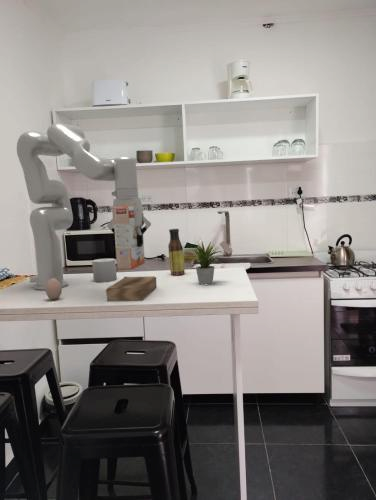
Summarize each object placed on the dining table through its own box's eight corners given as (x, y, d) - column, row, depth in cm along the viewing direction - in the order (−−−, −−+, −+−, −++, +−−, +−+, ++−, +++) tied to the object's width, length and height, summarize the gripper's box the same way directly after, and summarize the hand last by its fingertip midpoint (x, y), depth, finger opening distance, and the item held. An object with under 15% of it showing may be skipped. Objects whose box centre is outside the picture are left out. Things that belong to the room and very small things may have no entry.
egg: (43, 300, 141) (41, 279, 140) (55, 297, 145) (54, 276, 144) (53, 302, 138) (51, 280, 137) (65, 298, 142) (64, 277, 141)
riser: (107, 301, 135) (106, 288, 135) (125, 287, 155) (124, 276, 154) (142, 300, 133) (141, 287, 133) (156, 287, 153) (156, 276, 153)
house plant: (219, 288, 146) (217, 242, 144) (182, 287, 151) (180, 243, 149) (228, 280, 159) (227, 238, 158) (194, 280, 164) (192, 239, 162)
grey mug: (107, 276, 183) (106, 257, 182) (119, 280, 171) (118, 259, 170) (88, 279, 178) (86, 259, 177) (99, 283, 167) (97, 262, 166)
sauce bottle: (187, 273, 179) (185, 228, 177) (179, 276, 174) (177, 229, 171) (175, 272, 182) (172, 228, 180) (167, 275, 177) (164, 229, 175)
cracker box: (133, 270, 136) (129, 206, 133) (116, 270, 137) (111, 207, 134) (146, 263, 149) (142, 205, 147) (130, 263, 150) (126, 206, 148)
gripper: (98, 195, 138) (102, 249, 140) (148, 192, 135) (152, 247, 137) (106, 195, 145) (110, 246, 147) (154, 193, 142) (157, 244, 145)
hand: (130, 246), depth 142 cm, fingers closed on cracker box, 6 cm apart
